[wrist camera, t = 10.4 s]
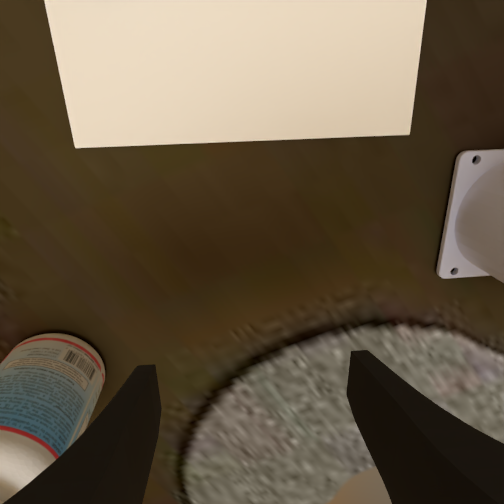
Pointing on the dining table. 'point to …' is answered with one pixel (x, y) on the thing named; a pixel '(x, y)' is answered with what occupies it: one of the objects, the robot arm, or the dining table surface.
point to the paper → (235, 69)
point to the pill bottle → (44, 404)
